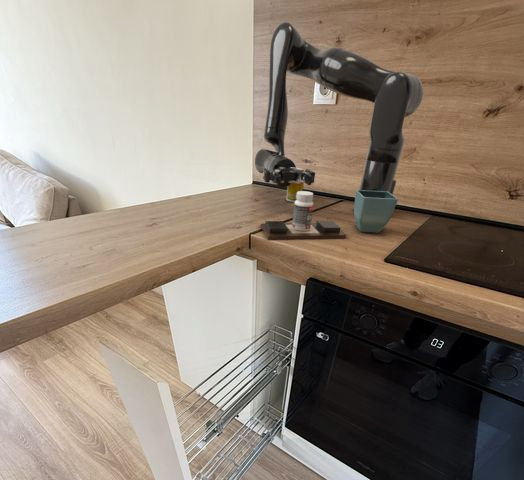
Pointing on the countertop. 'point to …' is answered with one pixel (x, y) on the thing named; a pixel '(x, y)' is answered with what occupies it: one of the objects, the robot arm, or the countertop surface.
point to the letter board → (287, 232)
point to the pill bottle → (302, 211)
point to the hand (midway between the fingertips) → (295, 180)
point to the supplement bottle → (294, 190)
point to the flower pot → (373, 209)
